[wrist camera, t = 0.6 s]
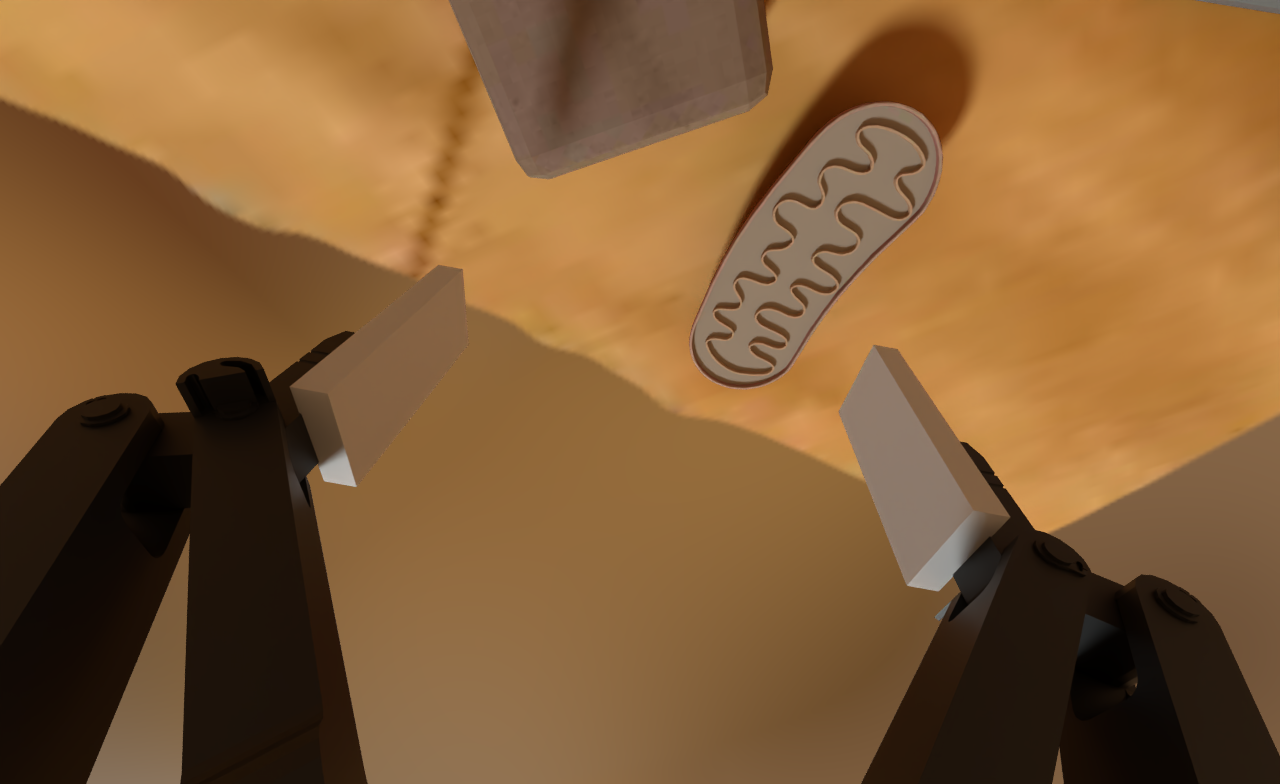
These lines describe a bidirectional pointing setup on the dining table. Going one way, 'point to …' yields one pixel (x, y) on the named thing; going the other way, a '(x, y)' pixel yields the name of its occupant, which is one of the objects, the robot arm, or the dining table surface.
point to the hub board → (1251, 4)
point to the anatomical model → (814, 240)
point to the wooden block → (613, 72)
